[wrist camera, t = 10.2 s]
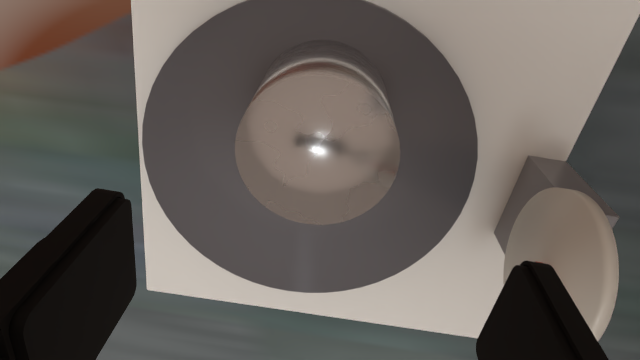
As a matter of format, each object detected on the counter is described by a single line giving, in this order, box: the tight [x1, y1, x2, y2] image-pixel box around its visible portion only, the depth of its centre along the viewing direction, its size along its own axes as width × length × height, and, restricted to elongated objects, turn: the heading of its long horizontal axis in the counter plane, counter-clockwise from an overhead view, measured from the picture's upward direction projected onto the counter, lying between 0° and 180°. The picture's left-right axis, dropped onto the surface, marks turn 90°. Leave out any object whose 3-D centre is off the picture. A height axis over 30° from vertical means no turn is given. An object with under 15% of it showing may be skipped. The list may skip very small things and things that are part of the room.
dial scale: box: [131, 0, 640, 341], centre depth 20 cm, size 22×22×12 cm
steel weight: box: [235, 40, 400, 225], centre depth 18 cm, size 6×6×6 cm
